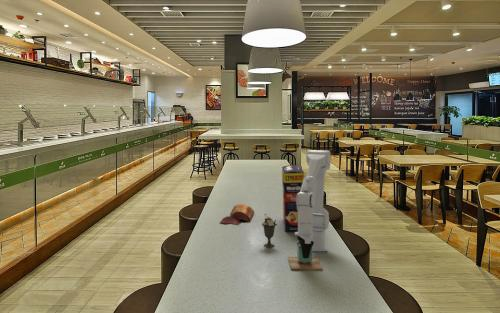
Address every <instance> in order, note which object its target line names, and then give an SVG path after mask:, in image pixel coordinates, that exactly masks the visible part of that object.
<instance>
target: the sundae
mask: <svg viewBox="0 0 500 313" xmlns="http://www.w3.org/2000/svg"><path fill="white" fill-rule="evenodd" d="M264 216H266V217H265V218H264V221H263V222H262V224H261V226H262V227H263V232H264V236H265V238H266V239H267V243H265V244H263V247H265V248H270V249H271V248H273V247H275V244H273V243H272V242H271V240H272V238H273V237H274V234H275V229H276V228H275V227H276V226H277V225H278V224H277V223H276V222H277V219H275V220H273V218H270V217H269V216H268V215H267V214H266V213H264Z"/></svg>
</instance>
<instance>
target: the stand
mask: <svg viewBox="0 0 500 313" xmlns="http://www.w3.org/2000/svg"><path fill="white" fill-rule="evenodd" d="M287 260H288V263H289V267H290V270H291V271H293V272H294V271H324V270H323V269H324V268H323V266H322V264H321V262H320V260H319V258H318V256H312V261H309V262H299V261H298V258H297V256H287Z"/></svg>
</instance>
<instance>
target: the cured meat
mask: <svg viewBox="0 0 500 313" xmlns="http://www.w3.org/2000/svg"><path fill="white" fill-rule="evenodd" d="M229 215H230V216H225V217H223V218H222V219H221V220H219V223H220V224H228V225H230V224H233V225H237V226H240V224H242V223H241V220H242V221H246V222H247V223H251V221H252V219H253V217H254V215H255V210H254V209H253V208H252V207H251V206H249V205H246V204H243V203H242V204H241V203H239V204H236V205H234V206H233V208H232V210H231V212H230V214H229Z"/></svg>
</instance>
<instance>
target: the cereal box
mask: <svg viewBox="0 0 500 313" xmlns="http://www.w3.org/2000/svg"><path fill="white" fill-rule="evenodd" d="M281 177H282V178H281V179H282V180H281V182H282V214H283V215H282V218H283V226H284V227H283V228H284V231H285V233H286V232H287V233H295V232H298V210H297V205H296V196H297V193H299V192H300V190H301V187H302V183H303V179H304V178H305V172H304V170H303V169H302V166H300V165H295V164H292V165H291V164H290V165H289V164H288V165H285V166H282V167H281Z"/></svg>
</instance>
